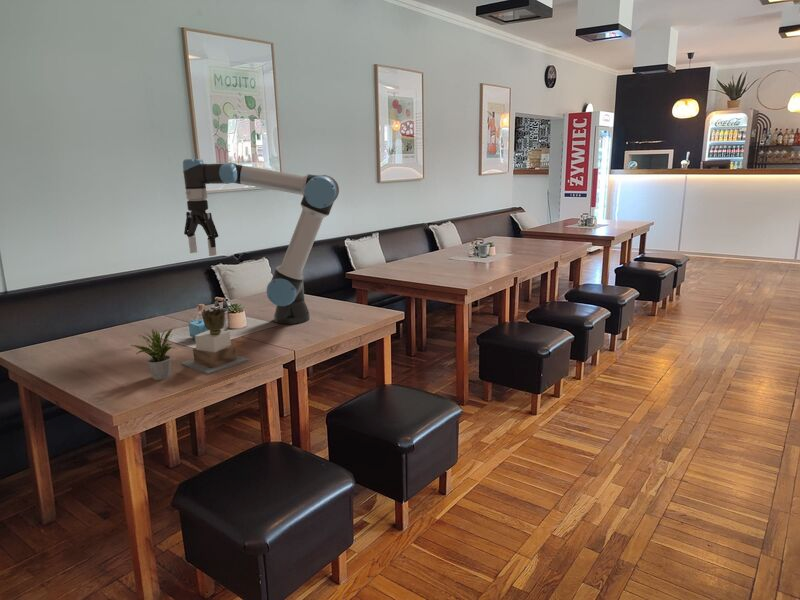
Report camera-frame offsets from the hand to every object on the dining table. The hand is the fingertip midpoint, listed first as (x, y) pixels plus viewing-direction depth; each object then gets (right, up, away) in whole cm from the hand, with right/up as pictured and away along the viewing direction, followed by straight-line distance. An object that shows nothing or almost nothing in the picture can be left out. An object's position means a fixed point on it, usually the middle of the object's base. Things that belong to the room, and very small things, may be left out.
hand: (203, 254), depth 223 cm
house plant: (+1, -43, -40) cm, 59 cm away
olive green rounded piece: (+16, -30, -33) cm, 47 cm away
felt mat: (+15, -40, -30) cm, 52 cm away
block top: (+15, -34, -31) cm, 48 cm away
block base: (+15, -39, -30) cm, 51 cm away
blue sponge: (0, -33, -1) cm, 33 cm away
